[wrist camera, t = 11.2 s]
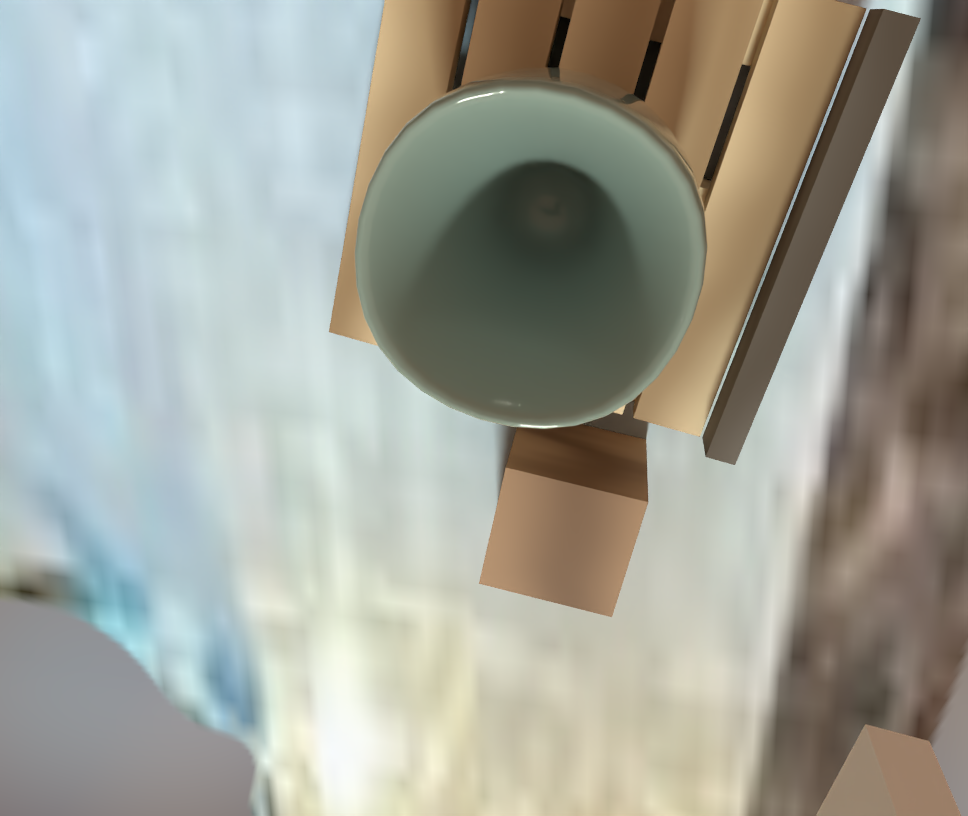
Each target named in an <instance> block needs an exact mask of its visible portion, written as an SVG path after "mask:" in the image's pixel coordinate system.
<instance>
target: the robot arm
mask: <svg viewBox="0 0 968 816" xmlns="http://www.w3.org/2000/svg"><path fill="white" fill-rule="evenodd" d="M816 816H961V815H960V812H959V810H958V807H957V805H956V802H955V800H954V798H953V796H952V793H951V791H950V789H949V786H948V784H947V782H946V779H945V777H944V775H943V772H942V770H941V768H940V765H939V763H938V761H937V758H936V756H935V754H934V751H933V749H932V747H931V744H930V742H929V741H926V740H923V739H919V738H915V737H911V736H907V735H904V734H900V733H896V732H892V731H889V730H885V729H881V728H877V727H874V726H870V725H866V724H865V726H864V728H863V730H862V731H861V733H860V735H859V737H858V739H857V741H856V742H855V744H854V746H853V748H852V750H851V752H850V754H849V755H848V757H847V759H846V761H845V763H844V765H843V767H842V768H841V770H840V772H839V774H838V776H837V778H836V780H835V781H834V783H833V785H832V787H831V789H830V791H829V792H828V794H827V796H826V798H825V800H824V802H823V804H822V805H821V807H820V809H819V811H818V813H817V815H816Z"/></svg>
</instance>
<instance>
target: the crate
mask: <svg viewBox="0 0 968 816" xmlns="http://www.w3.org/2000/svg"><path fill="white" fill-rule="evenodd" d="M647 504H648V482H647V452H646V439H641V438H637V437H633V436H629V435H625V434H621V433H616V432H612V431H608V430H604V429H600V428H596V427H591V426H587V425H583V424H580V425H577V426H569V427H559V428H550V429H536V428H522V427H517V429H516V433H515V436H514V440H513V443H512V447H511V451H510V454H509V458H508V461H507V465H506V468H505V473H504V477H503V482H502V486H501V490H500V495H499V499H498V503H497V508H496V512H495V516H494V521H493V525H492V529H491V534H490V538H489V543H488V547H487V551H486V556H485V560H484V564H483V569H482V573H481V577H480V582H479V584H483V585H487V586H491V587H495V588H499V589H503V590H507V591H511V592H515V593H519V594H523V595H527V596H530V597H534V598H538V599H542V600H546V601H550V602H554V603H558V604H562V605H566V606H570V607H574V608H578V609H582V610H586V611H590V612H594V613H598V614H602V615H606V616H610V617H612V615H613V612H614V608H615V605H616V602H617V599H618V596H619V593H620V590H621V586H622V583H623V580H624V577H625V574H626V571H627V567H628V564H629V561H630V558H631V555H632V552H633V549H634V545H635V542H636V539H637V536H638V533H639V530H640V526H641V523H642V520H643V517H644V514H645V511H646V507H647Z"/></svg>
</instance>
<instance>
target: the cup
mask: <svg viewBox="0 0 968 816" xmlns="http://www.w3.org/2000/svg"><path fill="white" fill-rule="evenodd" d="M706 256H707V232H706V221H705V210H704V204H703V201H702V198H701V195H700V192H699V189H698V186H697V183H696V180H695V177H694V174H693V170H692V167H691V165H690V162H689V160H688V157H687V155H686V153H685V151H684V150H683V148H682V147H681V145H680V144H679V142H678V140H677V139H676V137H675V136H674V134H673V133H672V131H671V130H670V128H669V126H668V125H667V123H666V122H665V121H664V120H663V119H661V118H660V117H659V116H658V115H657V114H656V113H655V112H654V111H653V110H652V109H651V108H650V107H649V106H648V105H647V104H646V103H645V102H644V101H643V100H641V99H640V98H638V97H636V96H635V95H633V94H632V93H630V92H628V91H627V90H625V89H624V88H622V87H621V86H619V85H617V84H615V83H612V82H610V81H607V80H605V79H602V78H600V77H597V76H595V75H592V74H589V73H584V72H579V71H574V70H569V69H564V68H558V67H525V68H519V69H514V70H509V71H504V72H499V73H494V74H490V75H487V76H484V77H481V78H479V79H476V80H474V81H472V82H470V83H467V84H465V85H463V86H461V87H459V88H456V89H454V90H452V91H450V92H447V93H445V94H443V95H441V96H439V97H438V98H436V99H435V100H434V101H432V102H431V103H430V104H429V105H427V106H426V107H425V108H424V109H423V110H421V111H420V112H419V113H418V114H416V115H415V116H414V117H413V118H411V119H410V120H409V121H408V122H407V123H406V124H405V126H404V127H403V128H402V130H401V131H400V132H399V133H398V135H397V136H396V137H395V139H394V140H393V141H392V142H391V144H390V145H389V146H388V148H387V149H386V150H385V152H384V154H383V156H382V158H381V160H380V162H379V164H378V166H377V168H376V170H375V172H374V174H373V176H372V178H371V180H370V182H369V185H368V188H367V192H366V195H365V198H364V202H363V205H362V209H361V212H360V216H359V219H358V228H357V236H356V245H355V269H356V286H357V290H358V294H359V298H360V302H361V306H362V311H363V315H364V318H365V320H366V322H367V324H368V326H369V328H370V331H371V333H372V335H373V337H374V339H375V341H376V343H377V345H378V347H379V348H380V349H381V350H382V352H383V353H384V354H385V355H386V357H387V358H388V359H389V360H390V362H391V363H392V364H393V366H394V367H395V368H396V369H397V371H399V372H400V373H401V374H402V375H403V376H405V377H406V378H407V379H408V380H409V381H410V382H412V383H413V384H414V385H415V386H416V387H418V388H419V389H420V390H421V391H423V392H424V393H426V394H428V395H429V396H431V397H433V398H434V399H436V400H438V401H440V402H441V403H443V404H445V405H446V406H448V407H450V408H452V409H455V410H457V411H460V412H462V413H465V414H468V415H470V416H473V417H475V418H478V419H480V420H485V421H489V422H493V423H498V424H502V425H506V426H511V427H522V428H536V429H550V428H559V427H569V426H577V425H580V424H583V423H586V422H589V421H593V420H596V419H599V418H602V417H605V416H607V415H609V414H611V413H612V412H614V411H616V410H617V409H619V408H621V407H622V406H624V405H626V404H628V403H629V402H631V401H633V400H634V399H635V398H636V397H637V396H638V395H639V394H640V393H641V392H642V391H644V390H645V389H646V388H647V387H648V386H649V385H650V384H651V383H652V382H653V381H654V380H655V379H657V377H658V376H659V375H660V373H661V372H662V370H663V369H664V368H665V366H666V365H667V364H668V362H669V361H670V360H671V358H672V357H673V356H674V354H675V353H676V351H677V350H678V348H679V346H680V344H681V342H682V340H683V338H684V336H685V334H686V332H687V329H688V327H689V325H690V323H691V321H692V319H693V317H694V314H695V310H696V307H697V304H698V300H699V297H700V294H701V290H702V287H703V283H704V274H705V265H706Z"/></svg>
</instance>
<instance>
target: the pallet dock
mask: <svg viewBox="0 0 968 816" xmlns="http://www.w3.org/2000/svg"><path fill="white" fill-rule="evenodd" d="M470 3H471V0H385V3H384V9H383V15H382V21H381V27H380V33H379V39H378V45H377V51H376V56H375V62H374V68H373V74H372V80H371V86H370V92H369V98H368V104H367V110H366V116H365V122H364V128H363V134H362V139H361V145H360V151H359V157H358V163H357V169H356V175H355V181H354V187H353V193H352V199H351V205H350V211H349V217H348V223H347V228H346V234H345V240H344V246H343V252H342V258H341V264H340V270H339V276H338V282H337V288H336V294H335V300H334V306H333V311H332V317H331V323H330V329H329V332H331V333H335V334H338V335H342V336H345V337H349V338H352V339H356V340H359V341H363V342H366V343H370V344H374V345H377V343H376V341H375V339H374V337H373V335H372V333H371V331H370V328H369V326H368V324H367V322H366V320H365V318H364V315H363V311H362V306H361V302H360V298H359V294H358V290H357V286H356V269H355V245H356V236H357V228H358V219H359V216H360V212H361V209H362V205H363V202H364V198H365V195H366V192H367V188H368V185H369V182H370V180H371V178H372V176H373V174H374V172H375V170H376V168H377V166H378V164H379V162H380V160H381V158H382V156H383V154H384V152H385V150H386V149H387V148H388V146H389V145H390V144H391V142H392V141H393V140H394V139H395V137H396V136H397V135H398V133H399V132H400V131H401V130H402V128H403V127H404V126H405V124H406V123H407V122H408V121H409V120H410V119H411V118H413V117H414V116H415V115H416V114H418V113H419V112H420V111H421V110H423V109H424V108H425V107H426V106H427V105H429V104H430V103H431V102H432V101H434V100H435V99H436V98H438V97H439V96H441V95H443V94H445V93H447V92H450V91H452V89H453V85H454V80H455V75H456V70H457V65H458V60H459V56H460V51H461V46H462V41H463V36H464V32H465V27H466V22H467V17H468V12H469V8H470ZM865 11H866V8H862V7H858V6H855V5H851V4H847V3H843V2H839V1H835V0H479V2H478V7H477V11H476V16H475V21H474V26H473V30H472V35H471V40H470V45H469V49H468V54H467V59H466V64H465V68H464V73H463V78H462V82H461V86H463V85H465V84H467V83H470V82H472V81H474V80H476V79H479V78H481V77H484V76H487V75H490V74H494V73H499V72H504V71H509V70H514V69H519V68H525V67H548V63H549V59H550V55H551V51H552V47H553V43H554V39H555V35H556V31H557V27H558V23H559V19H560V16H562V17H565V18H569V19H571V21H570V25H569V28H568V32H567V36H566V40H565V44H564V48H563V52H562V56H561V60H560V64H559V68H564V69H569V70H574V71H579V72H584V73H589V74H592V75H595V76H597V77H600V78H602V79H605V80H607V81H610V82H612V83H615V84H617V85H619V86H621V87H622V88H624V89H625V90H627V91H628V92H630V93H632V94H634V91H635V87H636V84H637V80H638V77H639V74H640V70H641V67H642V64H643V60H644V57H645V53H646V50H647V47H648V43H649V40H653V41H656V42H660V43H661V46H660V50H659V53H658V56H657V60H656V63H655V66H654V70H653V73H652V76H651V79H650V83H649V86H648V89H647V93H646V96H645V99H644V102H645V103H646V104H647V105H648V106H649V107H650V108H651V109H652V110H653V111H654V112H655V113H656V114H657V115H658V116H659V117H660V118H661V119H663V120H664V121H665V122H666V123H667V125H668V126H669V128H670V130H671V131H672V133H673V134H674V136H675V137H676V139H677V140H678V142H679V144H680V145H681V147H682V148H683V150H684V151H685V153H686V155H687V157H688V160H689V162H690V165H691V167H692V170H693V174H694V177H695V180H696V183H697V186H698V189H699V192H700V195H701V198H702V201H703V204H704V210H705V221H706V232H707V256H706V265H705V274H704V283H703V287H702V290H701V294H700V297H699V300H698V304H697V307H696V310H695V314H694V317H693V319H692V321H691V323H690V325H689V327H688V329H687V332H686V334H685V336H684V338H683V340H682V342H681V344H680V346H679V348H678V350H677V351H676V353H675V354H674V356H673V357H672V358H671V360H670V361H669V362H668V364H667V365H666V366H665V368H664V369H663V370H662V372H661V373H660V375H659V376H658V377H657V379H655V380H654V381H653V382H652V383H651V384H650V385H649V386H648V387H647V388H646V389H645V390H644V391H642V392H641V393H640V394H639V395H638V396H637V397H636V398H635V399H634V400H633V401H635V403H634V406H633V418H636V419H639V420H643V421H646V422H650V423H653V424H657V425H660V426H664V427H667V428H671V429H674V430H678V431H682V432H685V433H689V434H692V435H696V436H699V437H700V435H701V432H702V430H703V427H704V424H705V422H706V419H707V417H708V414H709V412H710V409H711V406H712V404H713V401H714V399H715V396H716V394H717V391H718V388H719V386H720V383H721V381H722V378H723V376H724V373H725V371H726V368H727V365H728V363H729V360H730V358H731V355H732V353H733V350H734V347H735V345H736V342H737V340H738V337H739V335H740V332H741V329H742V327H743V324H744V322H745V319H746V317H747V314H748V312H749V309H750V306H751V304H752V301H753V299H754V296H755V294H756V291H757V288H758V286H759V283H760V281H761V278H762V276H763V273H764V270H765V268H766V265H767V263H768V260H769V258H770V255H771V252H772V250H773V247H774V245H775V242H776V240H777V237H778V235H779V232H780V229H781V227H782V224H783V222H784V219H785V217H786V214H787V211H788V209H789V206H790V204H791V201H792V199H793V196H794V193H795V191H796V188H797V186H798V183H799V181H800V178H801V176H802V173H803V170H804V168H805V165H806V163H807V160H808V158H809V155H810V152H811V150H812V147H813V145H814V142H815V140H816V137H817V134H818V132H819V129H820V127H821V124H822V122H823V119H824V116H825V114H826V111H827V109H828V106H829V104H830V101H831V99H832V96H833V93H834V91H835V88H836V86H837V83H838V81H839V78H840V75H841V73H842V70H843V68H844V65H845V63H846V60H847V57H848V55H849V52H850V50H851V47H852V45H853V42H854V40H855V37H856V34H857V32H858V29H859V27H860V24H861V22H862V19H863V16H864V14H865ZM920 19H921V18H917V17H913V16H909V15H905V14H901V13H898V12H894V11H890V10H886V9H870V11H869V13H868V16H867V19H866V21H865V24H864V26H863V29H862V31H861V34H860V36H859V39H858V41H857V44H856V47H855V49H854V52H853V54H852V57H851V59H850V62H849V64H848V67H847V70H846V72H845V75H844V77H843V80H842V82H841V85H840V87H839V90H838V93H837V95H836V98H835V100H834V103H833V105H832V108H831V110H830V113H829V116H828V118H827V121H826V123H825V126H824V128H823V131H822V133H821V136H820V139H819V141H818V144H817V146H816V149H815V151H814V154H813V156H812V159H811V162H810V164H809V167H808V169H807V172H806V174H805V177H804V179H803V182H802V185H801V187H800V190H799V192H798V195H797V197H796V200H795V202H794V205H793V208H792V210H791V213H790V215H789V218H788V220H787V223H786V225H785V228H784V231H783V233H782V236H781V238H780V241H779V243H778V246H777V248H776V251H775V254H774V256H773V259H772V261H771V264H770V266H769V269H768V271H767V274H766V277H765V279H764V282H763V284H762V287H761V289H760V292H759V294H758V297H757V300H756V302H755V305H754V307H753V310H752V312H751V315H750V317H749V320H748V323H747V325H746V328H745V330H744V333H743V335H742V338H741V340H740V343H739V346H738V348H737V351H736V353H735V356H734V358H733V361H732V363H731V366H730V368H729V371H728V374H727V376H726V379H725V381H724V384H723V386H722V389H721V391H720V394H719V397H718V399H717V402H716V404H715V407H714V409H713V412H712V414H711V417H710V420H709V422H708V425H707V427H706V430H705V432H704V435H703V443H704V449H705V455H706V457H708V458H712V459H715V460H719V461H722V462H726V463H729V464H733V465H735V464H736V461H737V459H738V456H739V454H740V452H741V449H742V447H743V444H744V442H745V439H746V437H747V435H748V432H749V430H750V427H751V425H752V423H753V420H754V418H755V415H756V413H757V411H758V408H759V406H760V403H761V401H762V399H763V396H764V394H765V391H766V389H767V387H768V384H769V382H770V379H771V377H772V375H773V372H774V370H775V367H776V365H777V363H778V360H779V358H780V355H781V353H782V351H783V348H784V346H785V343H786V341H787V339H788V336H789V334H790V331H791V329H792V327H793V324H794V322H795V319H796V317H797V315H798V312H799V310H800V307H801V305H802V303H803V300H804V298H805V295H806V293H807V291H808V288H809V286H810V283H811V281H812V279H813V276H814V274H815V271H816V269H817V267H818V264H819V262H820V259H821V257H822V255H823V252H824V250H825V247H826V245H827V243H828V240H829V238H830V235H831V233H832V231H833V228H834V226H835V223H836V221H837V219H838V216H839V214H840V211H841V209H842V207H843V204H844V202H845V199H846V197H847V195H848V192H849V190H850V187H851V185H852V183H853V180H854V178H855V175H856V173H857V171H858V168H859V166H860V163H861V161H862V159H863V156H864V154H865V151H866V149H867V147H868V144H869V142H870V139H871V137H872V135H873V132H874V130H875V127H876V125H877V122H878V120H879V118H880V115H881V113H882V110H883V108H884V106H885V103H886V101H887V98H888V96H889V94H890V91H891V89H892V86H893V84H894V82H895V79H896V77H897V74H898V72H899V70H900V67H901V65H902V62H903V60H904V58H905V55H906V53H907V50H908V48H909V46H910V43H911V41H912V38H913V36H914V34H915V31H916V29H917V26H918V24H919V22H920ZM742 64H744V65H748V66H751V68H750V71H749V73H748V76H747V79H746V82H745V85H744V88H743V91H742V94H741V97H740V99H739V102H738V105H737V108H736V111H735V114H734V117H733V120H732V123H731V126H730V128H729V131H728V134H727V137H726V140H725V143H724V146H723V149H722V152H721V154H720V157H719V160H718V163H717V166H716V169H715V172H714V175H713V178H712V180H711V181H710V180H706V179H703V177H704V174H705V171H706V168H707V165H708V162H709V159H710V156H711V153H712V150H713V148H714V145H715V142H716V139H717V136H718V133H719V130H720V127H721V124H722V121H723V118H724V115H725V112H726V109H727V107H728V104H729V101H730V98H731V95H732V92H733V89H734V86H735V83H736V80H737V77H738V74H739V71H740V68H741V66H742ZM377 346H378V345H377ZM624 408H625V405H624V406H622V407H621V408H619V409H617V410H616V411H614V413H618V414H621V415H622V414H623V411H624Z"/></svg>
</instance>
